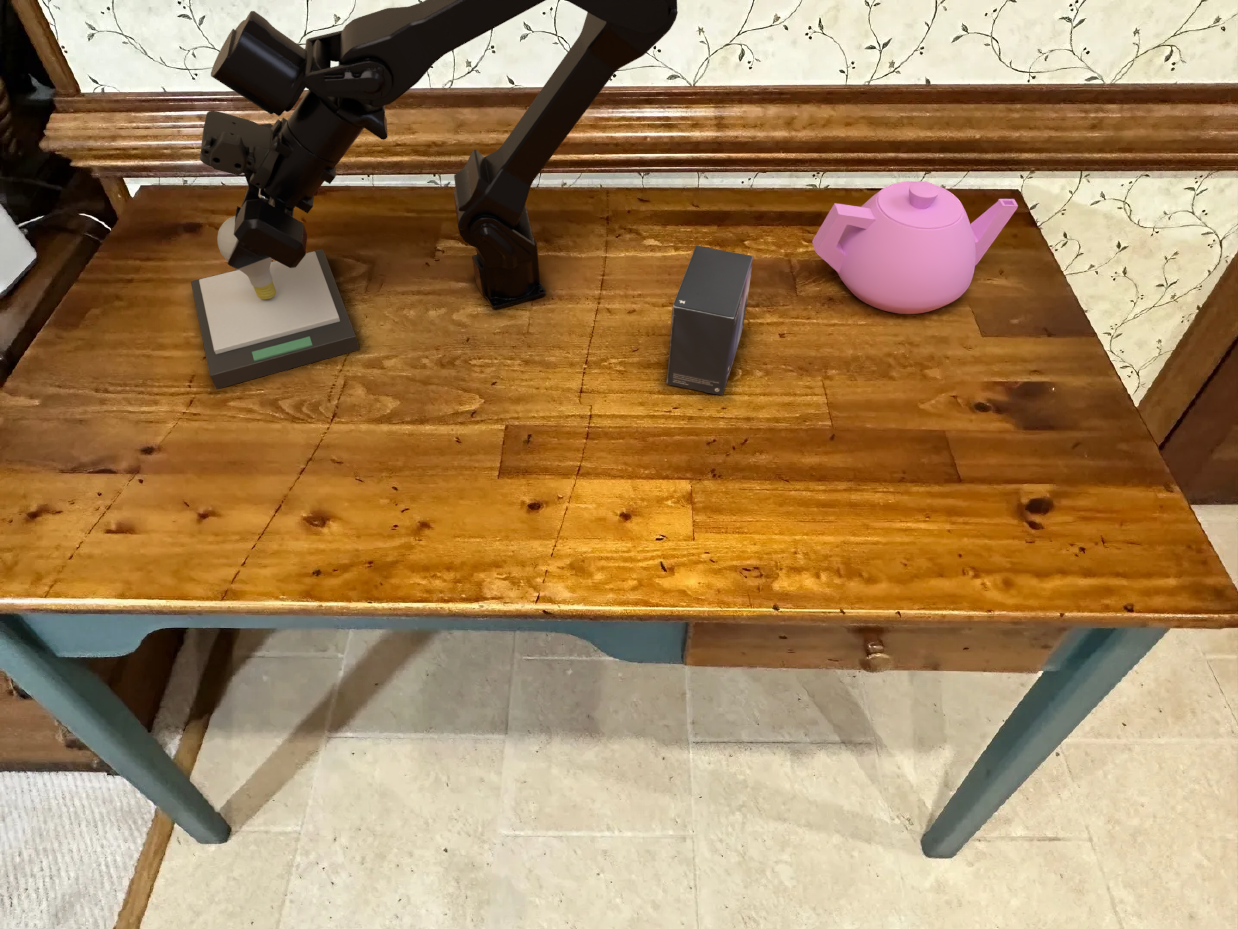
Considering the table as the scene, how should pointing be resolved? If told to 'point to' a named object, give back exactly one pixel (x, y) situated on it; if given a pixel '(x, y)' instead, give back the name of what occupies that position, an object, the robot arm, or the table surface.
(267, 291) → the light bulb
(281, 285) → the scale
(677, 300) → the small box
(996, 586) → the table surface
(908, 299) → the teapot
